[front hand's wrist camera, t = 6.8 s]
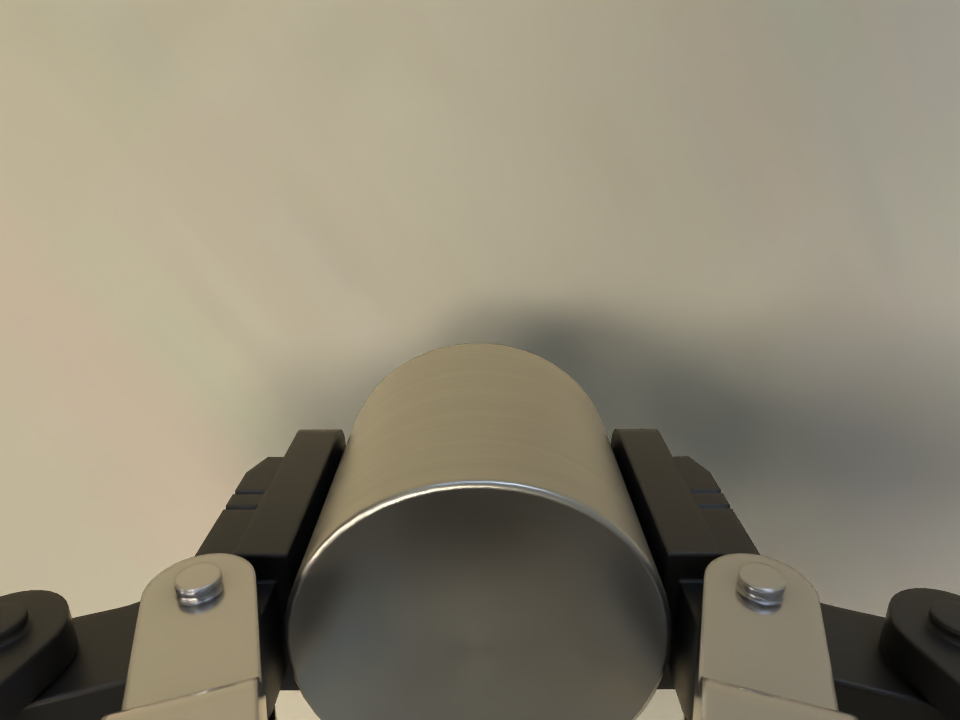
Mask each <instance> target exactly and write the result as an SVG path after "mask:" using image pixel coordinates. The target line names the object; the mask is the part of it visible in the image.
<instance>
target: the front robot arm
mask: <svg viewBox="0 0 960 720" xmlns="http://www.w3.org/2000/svg"><path fill="white" fill-rule="evenodd" d="M611 447H612V450H613V453H614V455H615V458H616V461H617V463H618V466H619V469H620V471H621V474H622V477H623V479H624V482H625V485H626V487H627V490H628V493H629V495H630V498H631V501H632V503H633V506H634V509H635V511H636V514H637V517H638V519H639V522H640V525H641V527H642V530H643V533H644V536H645V538H646V541H647V544H648V546H649V549H650V552H651V554H652V557H653V560H654V562H655V565H656V568H657V570H658V573H659V576H660V578H661V581H662V584H663V586H664V589H665V592H666V596H667V600H668V604H669V609H670V614H671V632H672V633H671V642H670V651H669V656H668V660H667V663H666V667H665V670H664V674H663V676H662V679H661V681H660V683H659V685H658V687H657V689H676V692H677V696H678V699H679V702H680V705H681V708H682V711H683V713H684V715H683V720H960V596H959V595H956V594H953V593H949V592H946V591H941V590H936V589H927V588H914V589H907V590H904V591H901V592H899V593H897V594H895V595H894V596H893V597H892V599H891V600H890V603H889V606H888V610H887V613H886V617H885V618H884V617H879V616H875V615H870V614H866V613H861V612H857V611H852V610H847V609H843V608H838V607H834V606H830V605H827V604H823V603H820V601H819V597H818V594H817V592H816V590H815V588H814V586H813V585H812V584H811V583H810V582H809V580H808V579H806V578H805V577H804V576H803V575H802V574H801V573H799V572H798V571H796V570H795V569H793V568H792V567H790V566H788V565H786V564H784V563H782V562H780V561H777V560H775V559H772V558H769V557H765V556H761V555H760V554H759V552H758V551H757V549H756V547H755V546H754V544H753V542H752V541H751V539H750V537H749V536H748V534H747V533H746V531H745V529H744V528H743V526H742V524H741V523H740V521H739V519H738V518H737V516H736V514H735V513H734V511H733V510H732V509H730V505H729V503H728V501H727V500H726V498H725V496H724V495H723V494H721V490H720V488H719V487H718V485H717V483H716V482H715V480H714V478H713V477H712V475H711V473H710V472H709V471H708V470H706V469H705V468H703V467H702V466H701V465H699V464H698V463H697V462H695V461H694V460H692V459H691V458H690V457H678V456H671V454H670V452H669V450H668V448H667V446H666V444H665V442H664V440H663V439H662V437H661V435H660V433H659V431H658V430H657V429H615V430H614V431H613V434H612V439H611ZM345 448H346V443H345V437H344V433H343V431H342V430H299V431H298V432H297V434H296V436H295V438H294V440H293V441H292V443H291V445H290V447H289V449H288V451H287V452H286V454H285V456H284V457H267V458H266V459H265V460H263V461H262V462H261V463H259V464H258V465H256V466H255V467H254V468H252V469H251V470H249V471H248V472H247V473H246V474H245V476H244V477H243V479H242V481H241V482H240V484H239V485H238V487H237V489H236V490H235V494H233V495H232V497H231V498H230V500H229V502H228V503H227V505H226V510H223V511H222V513H221V515H220V516H219V518H218V519H217V521H216V523H215V524H214V526H213V528H212V529H211V531H210V532H209V534H208V536H207V537H206V539H205V540H204V542H203V544H202V545H201V547H200V549H199V550H198V552H197V553H196V555H195V557H191V558H188V559H185V560H183V561H180V562H178V563H176V564H174V565H172V566H170V567H168V568H167V569H165V570H164V571H162V572H161V573H159V574H158V575H157V576H156V577H155V578H154V579H152V580H151V582H150V583H149V584H148V585H147V586H146V588H145V590H144V592H143V594H142V597H141V601H140V602H137V603H134V604H132V605H128V606H125V607H121V608H117V609H112V610H108V611H103V612H99V613H94V614H89V615H85V616H80V617H76V618H72V617H71V614H70V610H69V606H68V604H67V601H66V600H65V599H64V598H63V597H62V596H60V595H59V594H57V593H54V592H51V591H44V590H30V591H22V592H17V593H12V594H8V595H5V596H1V597H0V720H277V715H276V709H275V703H276V700H277V697H278V694H279V691H280V690H300V689H299V687H298V685H297V683H296V681H295V679H294V676H293V673H292V670H291V667H290V664H289V661H288V655H287V649H286V643H285V614H286V609H287V603H288V598H289V595H290V592H291V589H292V587H293V584H294V581H295V578H296V576H297V573H298V571H299V568H300V565H301V563H302V560H303V557H304V555H305V552H306V550H307V547H308V544H309V542H310V539H311V537H312V534H313V531H314V529H315V526H316V523H317V521H318V518H319V516H320V513H321V510H322V508H323V505H324V503H325V500H326V497H327V495H328V492H329V489H330V487H331V484H332V482H333V479H334V476H335V474H336V471H337V468H338V466H339V463H340V461H341V458H342V455H343V453H344V450H345Z"/></svg>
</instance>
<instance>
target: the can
mask: <svg viewBox="0 0 960 720" xmlns="http://www.w3.org/2000/svg"><path fill="white" fill-rule="evenodd" d="M671 633H672V632H671V614H670V609H669V604H668V600H667V596H666V592H665V589H664V586H663V584H662V581H661V578H660V576H659V573H658V570H657V568H656V565H655V562H654V560H653V557H652V554H651V552H650V549H649V546H648V544H647V541H646V538H645V536H644V533H643V530H642V527H641V525H640V522H639V519H638V517H637V514H636V511H635V509H634V506H633V503H632V501H631V498H630V495H629V493H628V490H627V487H626V485H625V482H624V479H623V477H622V474H621V471H620V469H619V466H618V463H617V461H616V458H615V455H614V453H613V450H612V447H611V445H610V442H609V439H608V437H607V434H606V431H605V429H604V426H603V423H602V421H601V419H600V416H599V414H598V411H597V410H596V408H595V406H594V405H593V403H592V401H591V399H590V398H589V397H588V395H587V394H586V393H585V392H584V390H583V389H582V388H581V387H580V385H579V384H578V383H576V382H575V381H574V380H573V379H572V378H571V377H570V376H569V375H568V374H567V373H565V372H564V371H563V370H561V369H560V368H558V367H557V366H555V365H554V364H553V363H551V362H549V361H547V360H545V359H543V358H541V357H539V356H537V355H535V354H532V353H529V352H527V351H524V350H521V349H517V348H513V347H509V346H504V345H496V344H487V343H476V344H461V345H454V346H448V347H444V348H440V349H437V350H433V351H430V352H428V353H425V354H423V355H420V356H418V357H416V358H414V359H412V360H410V361H409V362H407V363H405V364H403V365H402V366H400V367H399V368H397V369H396V370H395V371H393V372H392V373H391V374H389V375H388V376H387V377H386V378H385V379H384V380H383V381H382V382H381V383H380V384H379V385H378V386H377V387H376V388H375V389H374V390H373V392H372V393H371V394H370V396H369V397H368V398H367V400H366V401H365V403H364V405H363V407H362V408H361V410H360V412H359V414H358V416H357V419H356V421H355V424H354V427H353V429H352V432H351V434H350V437H349V440H348V442H347V445H346V448H345V450H344V453H343V455H342V458H341V461H340V463H339V466H338V468H337V471H336V474H335V476H334V479H333V482H332V484H331V487H330V489H329V492H328V495H327V497H326V500H325V503H324V505H323V508H322V510H321V513H320V516H319V518H318V521H317V523H316V526H315V529H314V531H313V534H312V537H311V539H310V542H309V544H308V547H307V550H306V552H305V555H304V557H303V560H302V563H301V565H300V568H299V571H298V573H297V576H296V578H295V581H294V584H293V587H292V589H291V592H290V595H289V598H288V603H287V609H286V614H285V643H286V649H287V655H288V661H289V664H290V667H291V670H292V673H293V676H294V679H295V681H296V683H297V685H298V687H299V689H300V691H301V693H302V695H303V697H304V698H305V700H306V701H307V703H308V704H309V705H310V707H311V708H312V710H313V711H314V712H315V714H316V715H317V716H318V717H319V718H320V719H321V720H635V719H636V718H637V717H638V716H639V715H640V714H641V712H642V711H643V710H644V709H645V707H646V706H647V704H648V703H649V701H650V700H651V698H652V697H653V695H654V694H655V692H656V689H657V687H658V685H659V683H660V681H661V679H662V676H663V674H664V670H665V667H666V663H667V660H668V656H669V651H670V642H671Z"/></svg>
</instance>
